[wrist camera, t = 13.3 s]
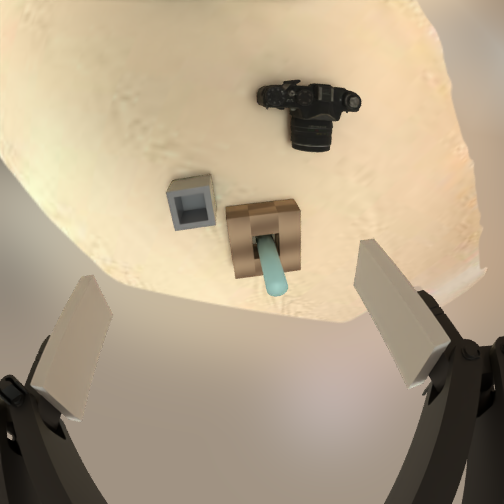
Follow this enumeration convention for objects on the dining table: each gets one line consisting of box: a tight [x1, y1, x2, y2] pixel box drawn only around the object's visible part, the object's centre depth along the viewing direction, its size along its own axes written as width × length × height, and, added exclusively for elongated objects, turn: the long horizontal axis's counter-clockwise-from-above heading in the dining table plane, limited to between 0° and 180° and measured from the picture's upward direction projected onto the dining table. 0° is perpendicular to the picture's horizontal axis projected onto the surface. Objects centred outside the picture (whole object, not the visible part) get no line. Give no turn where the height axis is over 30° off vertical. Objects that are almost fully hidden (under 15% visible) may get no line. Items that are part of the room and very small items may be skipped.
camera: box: [257, 80, 361, 152], centre depth 36 cm, size 14×11×10 cm
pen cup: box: [166, 174, 217, 231], centre depth 44 cm, size 7×7×6 cm
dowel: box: [255, 234, 288, 296], centre depth 45 cm, size 3×3×16 cm
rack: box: [226, 199, 301, 279], centre depth 49 cm, size 12×12×5 cm
